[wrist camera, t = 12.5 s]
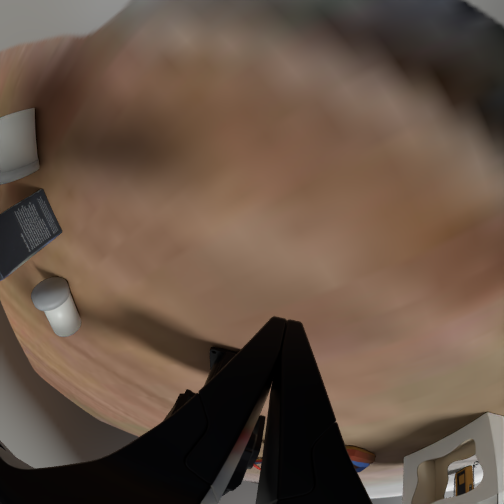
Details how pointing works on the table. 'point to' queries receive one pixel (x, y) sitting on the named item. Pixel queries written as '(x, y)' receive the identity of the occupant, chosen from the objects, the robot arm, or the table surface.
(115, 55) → the table surface
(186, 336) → the table surface
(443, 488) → the gable box
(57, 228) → the small box
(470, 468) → the multimeter
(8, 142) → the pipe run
